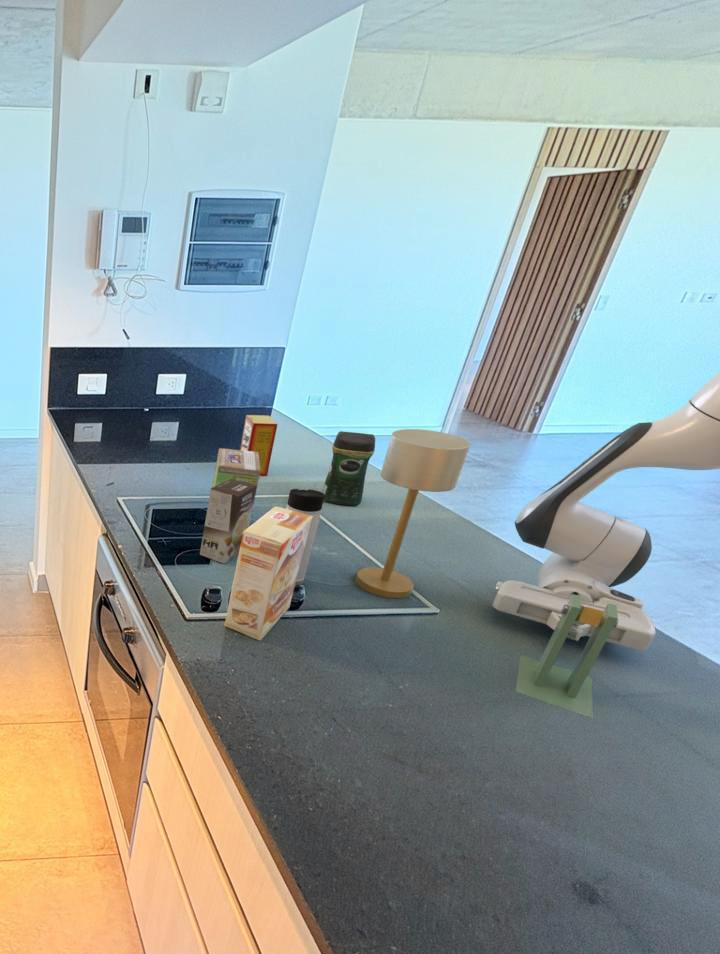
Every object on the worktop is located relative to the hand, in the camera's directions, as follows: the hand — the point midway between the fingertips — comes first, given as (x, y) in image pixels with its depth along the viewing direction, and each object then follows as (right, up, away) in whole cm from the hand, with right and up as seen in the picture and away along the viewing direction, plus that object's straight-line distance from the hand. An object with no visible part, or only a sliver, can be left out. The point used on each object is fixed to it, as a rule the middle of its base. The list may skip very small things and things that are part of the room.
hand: (568, 634), depth 99 cm
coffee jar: (-1, +26, +66) cm, 70 cm away
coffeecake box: (-44, +1, +16) cm, 46 cm away
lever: (-3, +2, -5) cm, 6 cm away
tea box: (-33, +22, +59) cm, 71 cm away
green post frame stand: (-5, -8, -3) cm, 10 cm away
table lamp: (-14, +6, +26) cm, 30 cm away
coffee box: (-42, +12, +39) cm, 58 cm away
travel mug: (-32, +7, +28) cm, 43 cm away
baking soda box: (-16, +36, +87) cm, 95 cm away
